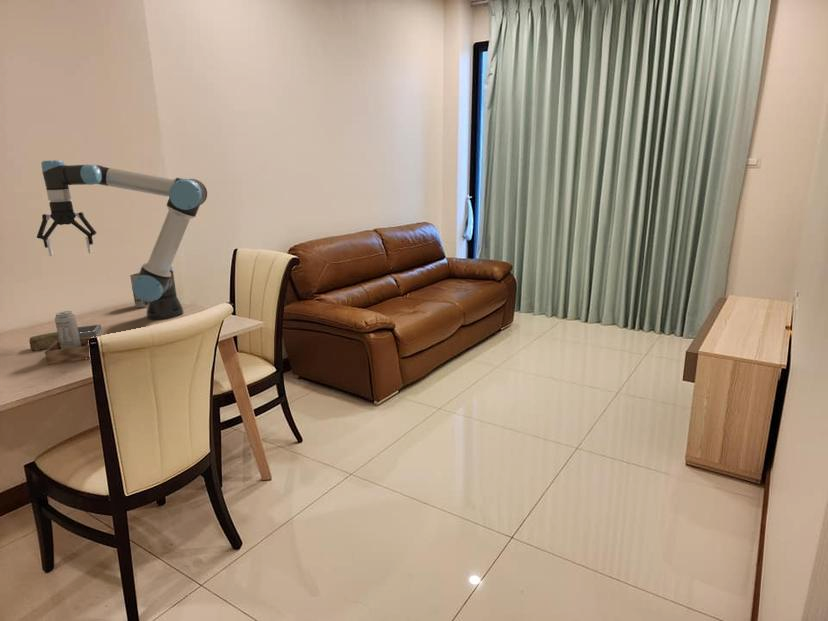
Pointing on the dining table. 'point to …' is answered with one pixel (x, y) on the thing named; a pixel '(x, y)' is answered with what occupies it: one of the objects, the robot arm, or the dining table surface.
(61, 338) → the energy drink can
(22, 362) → the dining table surface
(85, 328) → the tray
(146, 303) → the coffee box
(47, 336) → the stone block
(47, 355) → the walnut bin
